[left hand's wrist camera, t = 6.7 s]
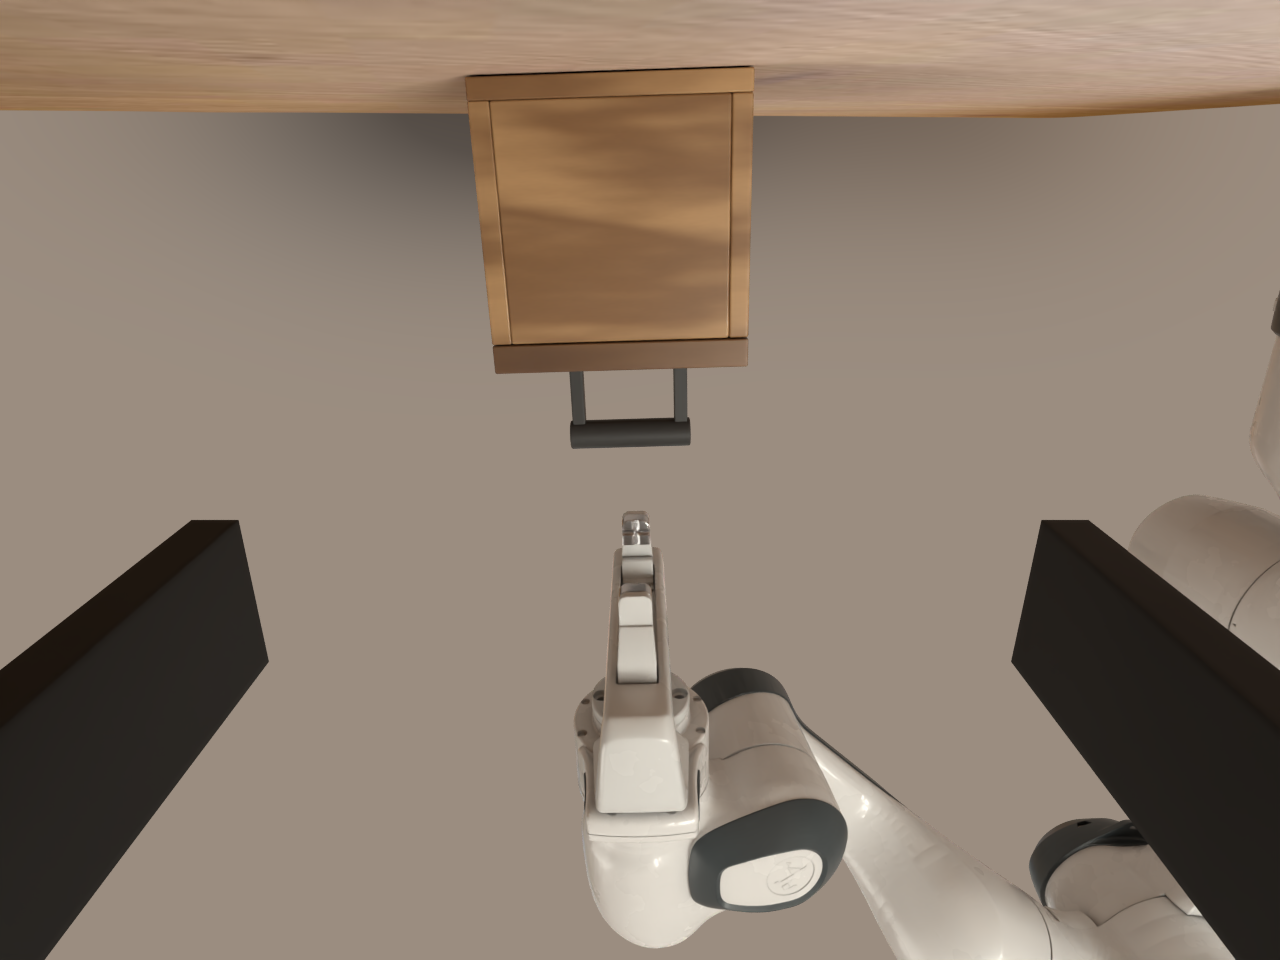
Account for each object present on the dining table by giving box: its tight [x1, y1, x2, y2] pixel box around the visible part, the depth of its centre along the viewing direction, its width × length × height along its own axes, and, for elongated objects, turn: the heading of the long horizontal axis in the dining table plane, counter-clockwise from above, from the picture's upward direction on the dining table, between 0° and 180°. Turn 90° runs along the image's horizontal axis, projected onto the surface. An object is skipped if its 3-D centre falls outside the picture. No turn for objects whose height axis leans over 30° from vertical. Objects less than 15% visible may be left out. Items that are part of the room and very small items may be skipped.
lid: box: [493, 336, 748, 449], centre depth 38 cm, size 14×10×8 cm
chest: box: [465, 67, 754, 345], centre depth 34 cm, size 14×10×9 cm
